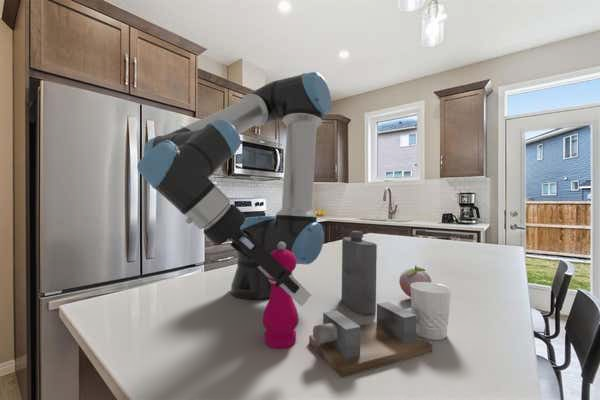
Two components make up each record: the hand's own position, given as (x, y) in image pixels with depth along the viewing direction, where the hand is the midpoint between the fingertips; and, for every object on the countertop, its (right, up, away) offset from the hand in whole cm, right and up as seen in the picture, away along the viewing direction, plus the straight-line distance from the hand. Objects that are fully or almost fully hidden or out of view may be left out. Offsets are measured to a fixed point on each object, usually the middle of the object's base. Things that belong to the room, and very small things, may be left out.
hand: (292, 290), depth 60 cm
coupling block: (+15, -10, -3) cm, 18 cm away
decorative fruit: (+34, -10, +24) cm, 43 cm away
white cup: (+29, -10, +3) cm, 31 cm away
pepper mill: (-3, -10, -1) cm, 10 cm away
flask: (+17, -10, +20) cm, 28 cm away
